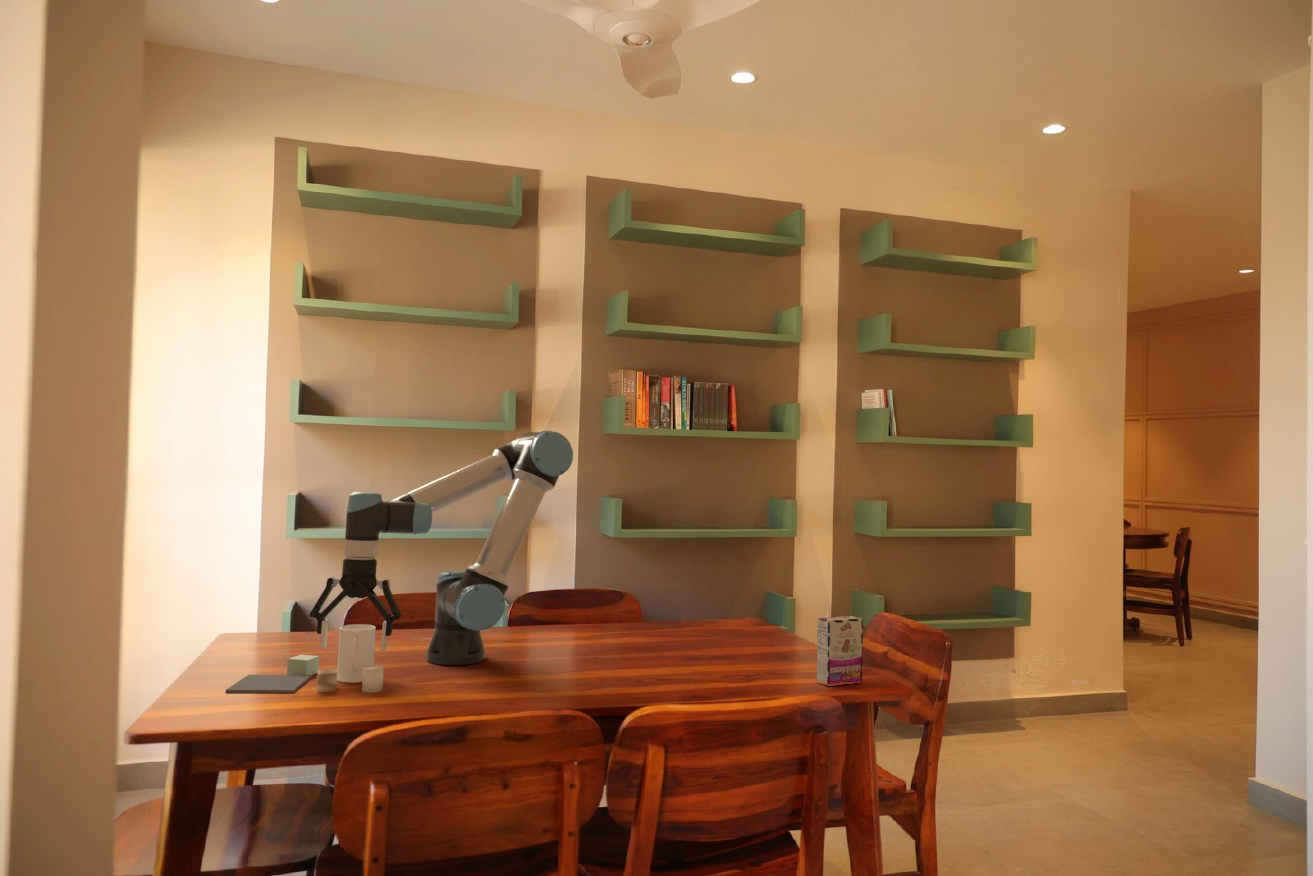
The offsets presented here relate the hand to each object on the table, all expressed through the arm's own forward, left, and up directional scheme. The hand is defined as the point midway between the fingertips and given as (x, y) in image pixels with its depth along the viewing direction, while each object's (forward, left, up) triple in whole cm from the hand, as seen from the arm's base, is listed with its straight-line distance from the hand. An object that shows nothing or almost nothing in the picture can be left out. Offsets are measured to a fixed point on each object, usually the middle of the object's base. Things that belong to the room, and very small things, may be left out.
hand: (353, 649), depth 195 cm
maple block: (+4, +8, -7) cm, 12 cm away
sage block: (+13, -6, -7) cm, 16 cm away
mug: (0, 0, -7) cm, 7 cm away
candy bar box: (-118, 0, -7) cm, 119 cm away
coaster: (+17, +5, -7) cm, 19 cm away
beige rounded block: (-6, +9, -7) cm, 13 cm away
